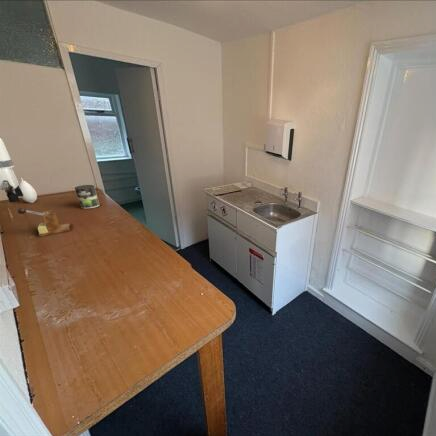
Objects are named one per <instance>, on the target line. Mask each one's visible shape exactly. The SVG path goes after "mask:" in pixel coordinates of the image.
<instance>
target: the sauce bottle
mask: <svg viewBox="0 0 436 436" xmlns="http://www.w3.org/2000/svg"><path fill="white" fill-rule="evenodd" d="M20 178H21V181H20V183H19V187H20V189H21V191H22V193H23V196H20V197H21V199H22V200H23V201H24V202H25V203H29V204H32V203H33V204H34V203H35V202H36V201H37V199H38V195H37V194H38V193H37V192H36V190H35V188H34V187H33V186H32V185H31V184H30V183H29V182H27V181H26V180H24V179H23V178H22V177H20Z"/></svg>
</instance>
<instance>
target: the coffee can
mask: <svg viewBox="0 0 436 436" xmlns="http://www.w3.org/2000/svg"><path fill="white" fill-rule="evenodd" d="M74 190H75V193H76V196H77V199H78V202H79V205H80V208H81V209H83V210H84V209H85V210H86V209H94V208H97V207H100V201H99V199H98V198H99V197H98V195H97V191H96V188H95V185H93V184H83V185H78V186H75V187H74Z"/></svg>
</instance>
